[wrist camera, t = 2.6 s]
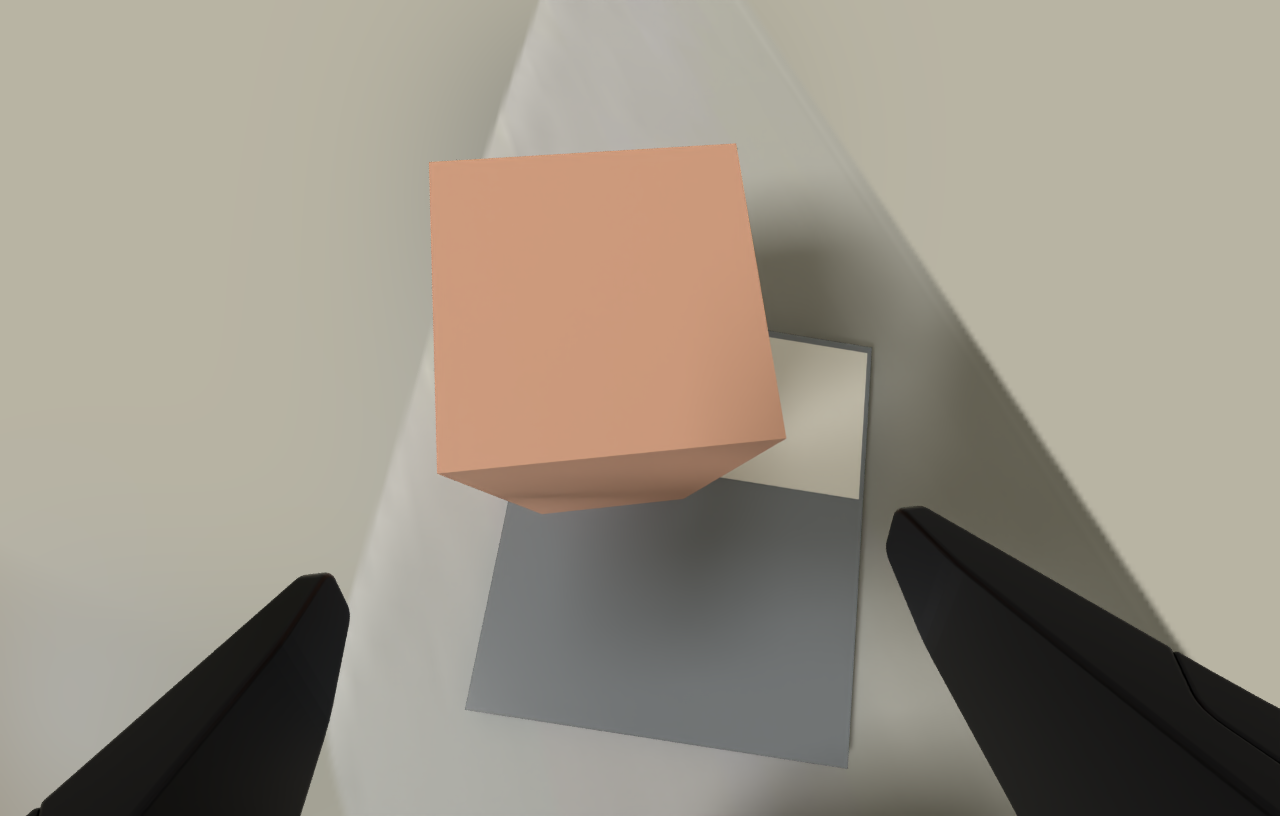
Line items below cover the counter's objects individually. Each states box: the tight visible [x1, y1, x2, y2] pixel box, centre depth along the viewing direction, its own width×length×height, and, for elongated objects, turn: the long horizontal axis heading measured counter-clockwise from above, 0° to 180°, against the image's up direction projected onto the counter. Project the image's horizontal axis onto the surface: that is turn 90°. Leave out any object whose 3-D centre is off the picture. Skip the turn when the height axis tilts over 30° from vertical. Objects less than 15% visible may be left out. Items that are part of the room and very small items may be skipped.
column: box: [429, 144, 786, 514], centre depth 14 cm, size 5×5×12 cm
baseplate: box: [465, 331, 872, 769], centre depth 20 cm, size 15×12×1 cm
